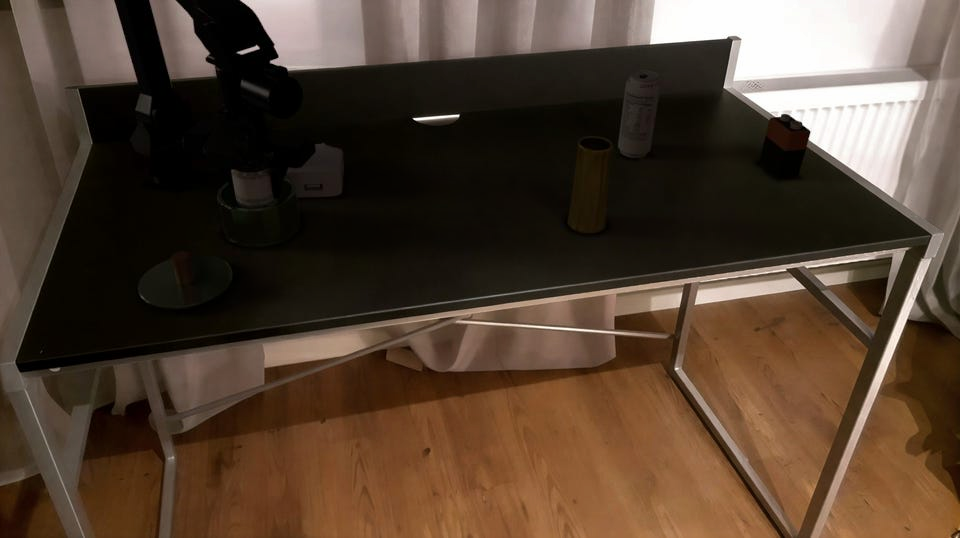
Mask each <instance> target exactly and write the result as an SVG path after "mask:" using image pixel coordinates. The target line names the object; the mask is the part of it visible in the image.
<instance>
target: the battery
mask: <svg viewBox="0 0 960 538" xmlns="http://www.w3.org/2000/svg"><path fill="white" fill-rule="evenodd" d="M811 132H812V131H811V130H810V129H809V128H807V127H806V126H805V125H803V122H802V121H800V120H797V119H795V118H794V117H792V116H791V115H790V114H788V113H782V114H781V115H780V116H774V117H770V118H769V120H768V124H767V128H766V133H765V137H764V140H763V145H762V148H761V153H760V156H759V164H760V165H761V166H762V167H763V168H765V169H766V170H767V171H768V172H769V173H770V174H772V176H774V177H775V178H776V179H778V180H781V179H792V178H798V177H799V175H800V172H801V168H802V164H803V161H804V159H805V155H806V150H807V147H808V142H809V140H810V136H811Z"/></svg>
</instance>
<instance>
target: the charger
mask: <svg viewBox="0 0 960 538" xmlns="http://www.w3.org/2000/svg"><path fill="white" fill-rule="evenodd" d="M315 148H316V152H315V153H314V154H313V155H312V157H311V158H310V159H309V160H308V161H307V162H306V163H305V164H304V165H303V166H302V167H301V168H288V171H287V174H286V178H289V179H291V180H292V182H293V183H294V184H295V185H296V190H297V198H327V197H337V196H340V195H342V193H343V187H344V186H343V185H344V175H345V163H344V151H343V149H342V148H339V147H333V146H331V145H328V144H327V143H325V142H322V143H315Z"/></svg>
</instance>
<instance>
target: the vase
mask: <svg viewBox="0 0 960 538" xmlns="http://www.w3.org/2000/svg"><path fill="white" fill-rule="evenodd" d="M613 150H614V144H613V142H612V141H611V140H610V139H608V138H606V137H604V136H599V135H586V136H583V137H581V138H580V139H579V140H578V142H577V151H576V158H575V159H576V160H575V168H574V175H573V182H572V190H571V191H572V192H571V197H570V204H569V205H570V206H569V212H568V218H567V221H566V222H567V225H568V226H569V228H570V229H571V230H573V231H575V232H577V233H581V234H597V233H599V232H602V231H603V230H604V229H605V228H606V227H607V222H606V221H607V220H606V219H607V210H608V209H607V208H608V196H609V183H610V173H611V166H612V165H611V164H612V157H613V152H614V151H613Z"/></svg>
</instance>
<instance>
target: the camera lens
mask: <svg viewBox="0 0 960 538" xmlns="http://www.w3.org/2000/svg"><path fill="white" fill-rule="evenodd" d="M271 160H272V159H271V158H270V157H269V156H267V155H263V154H258V153H257V154H256V156H255V158H254V160H253V161H249V160H245V161H244V162H243V165H242V166H241V167H240V168H239V169H236V170H232V169H231V173H232V179H233V184H234V190H235V196H236V200H237V203H238V205H239V207H240V208H242V209H259V208H265V207H269V206H273V205H276V204H277V201H278V198H277V199H275V198H274V195H273V192H272V183H271V175H270V171H269V170H268V169H267V168H266V167H265V166H266V165H267V164H268V163H269V162H270V161H271Z"/></svg>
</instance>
